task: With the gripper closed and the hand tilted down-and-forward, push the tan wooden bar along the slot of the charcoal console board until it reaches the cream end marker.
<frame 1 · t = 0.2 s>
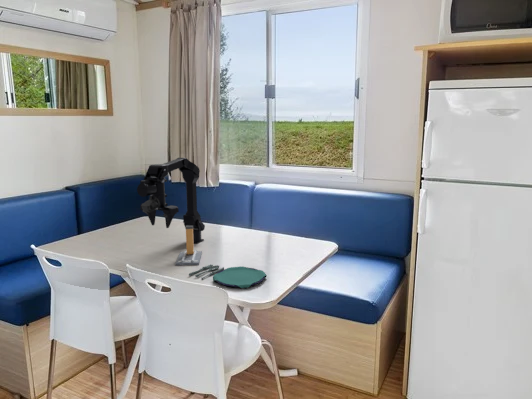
hand: (160, 226, 187), 14 cm above the table, tool pointing down, fingers open, 9 cm apart
console board: (189, 259, 186), on the table
tan wooden bar: (189, 239, 189), point 8 cm above the table, slide at 0.0 cm
cutlery set: (229, 278, 165), on the table
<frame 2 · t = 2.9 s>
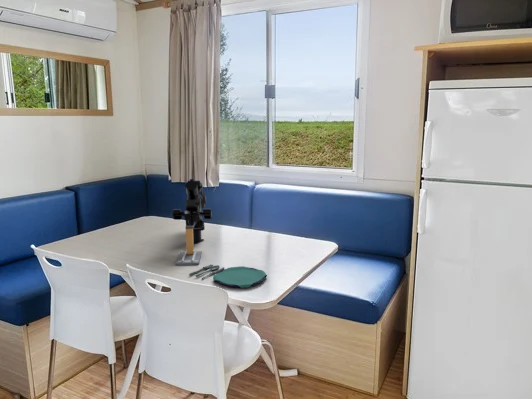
hand: (191, 229, 196), 11 cm above the table, tool tilted 45°, fingers closed
nothing on the table moved.
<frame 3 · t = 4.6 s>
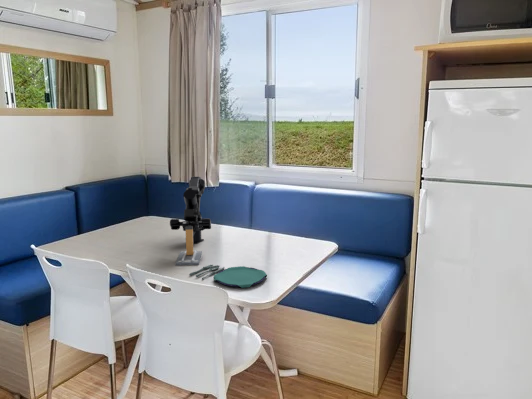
hand: (189, 239, 189), 8 cm above the table, tool tilted 45°, fingers closed, pressing on tan wooden bar
tan wooden bar: (189, 240, 188), point 8 cm above the table, slide at 1.1 cm, touching gripper
everything else where it was.
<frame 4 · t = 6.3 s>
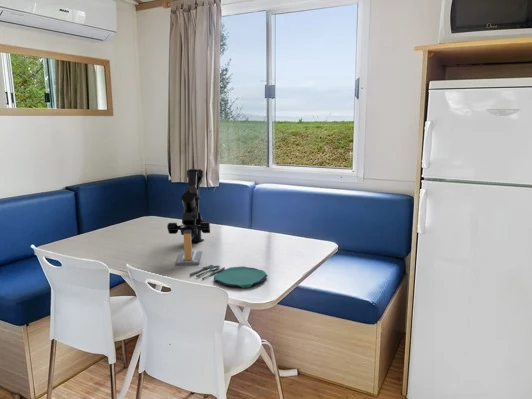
hand: (188, 244, 182), 8 cm above the table, tool tilted 45°, fingers closed, pressing on tan wooden bar
tan wooden bar: (187, 245, 181), point 8 cm above the table, slide at 8.1 cm, touching gripper
everything else where it was.
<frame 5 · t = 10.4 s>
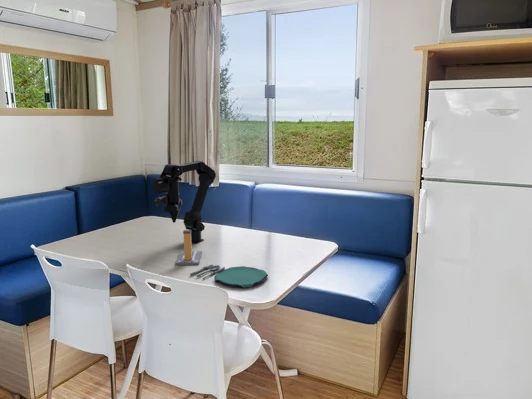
hand: (174, 222, 200), 13 cm above the table, tool pointing down, fingers closed
tan wooden bar: (187, 245, 181), point 8 cm above the table, slide at 8.0 cm
everything else where it was.
at the end: tan wooden bar slide at 8.0 cm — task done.
